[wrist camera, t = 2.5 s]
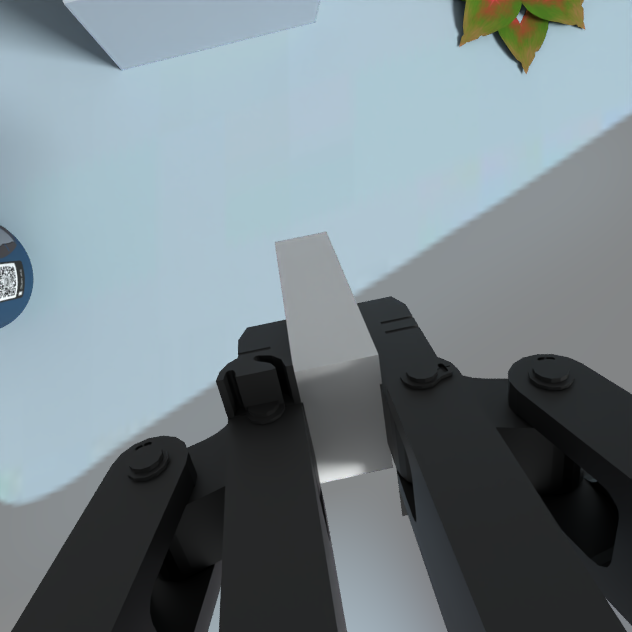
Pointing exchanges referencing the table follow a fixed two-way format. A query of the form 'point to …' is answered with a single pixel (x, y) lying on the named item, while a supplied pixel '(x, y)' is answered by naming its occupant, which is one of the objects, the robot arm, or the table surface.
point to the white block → (183, 24)
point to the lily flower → (521, 38)
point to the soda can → (13, 277)
